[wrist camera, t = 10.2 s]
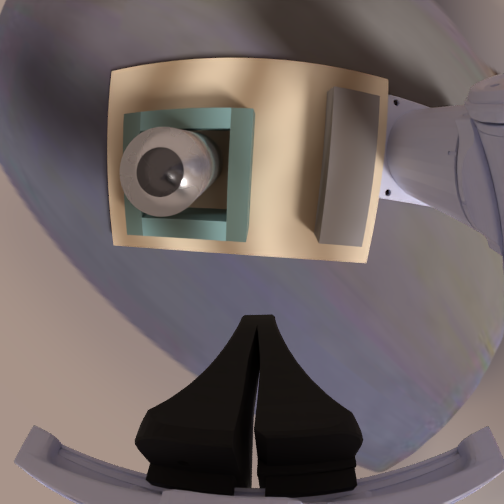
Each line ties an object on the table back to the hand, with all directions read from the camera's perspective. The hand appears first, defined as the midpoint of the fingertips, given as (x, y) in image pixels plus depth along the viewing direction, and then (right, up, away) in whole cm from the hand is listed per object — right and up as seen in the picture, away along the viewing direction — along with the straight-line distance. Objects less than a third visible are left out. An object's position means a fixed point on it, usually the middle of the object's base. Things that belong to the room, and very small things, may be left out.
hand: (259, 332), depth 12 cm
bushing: (-4, +10, +6) cm, 12 cm away
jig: (-1, +10, +7) cm, 12 cm away
